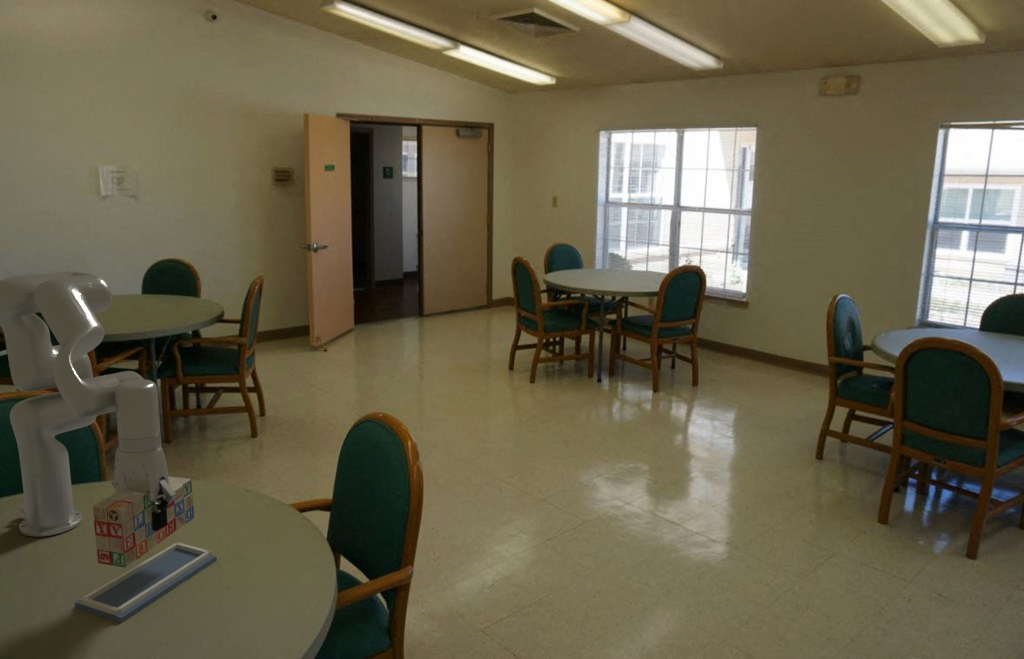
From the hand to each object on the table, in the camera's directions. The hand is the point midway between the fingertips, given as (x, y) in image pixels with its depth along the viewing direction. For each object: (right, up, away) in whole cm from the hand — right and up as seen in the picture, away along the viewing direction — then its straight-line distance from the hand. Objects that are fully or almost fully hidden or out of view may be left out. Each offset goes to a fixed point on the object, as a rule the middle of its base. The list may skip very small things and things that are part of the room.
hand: (146, 523), depth 151 cm
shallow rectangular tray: (-1, -13, +3) cm, 13 cm away
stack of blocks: (0, -4, +1) cm, 4 cm away
